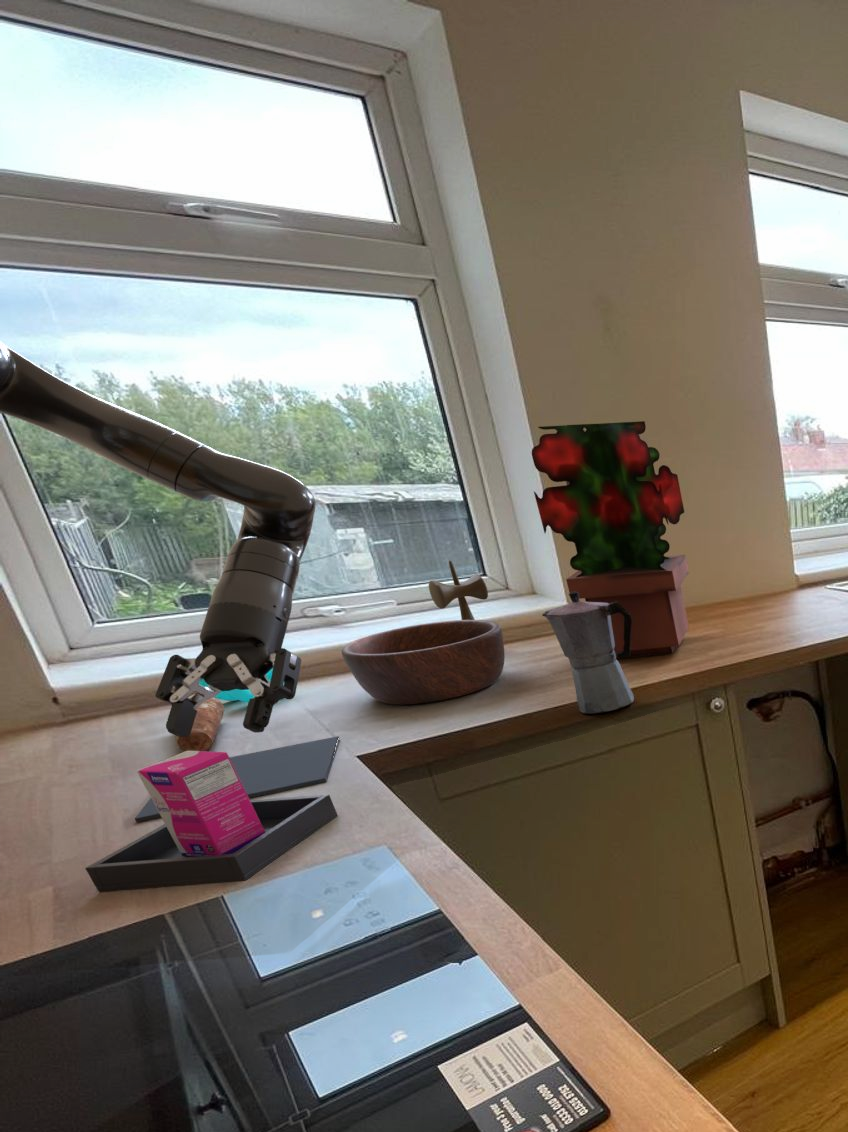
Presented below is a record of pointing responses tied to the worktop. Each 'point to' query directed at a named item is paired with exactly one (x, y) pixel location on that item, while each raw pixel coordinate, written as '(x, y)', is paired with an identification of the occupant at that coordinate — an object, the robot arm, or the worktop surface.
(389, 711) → the worktop surface
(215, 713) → the bread
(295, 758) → the mat
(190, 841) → the supplement box
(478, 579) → the kendama
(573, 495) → the potted plant
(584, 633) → the moka pot
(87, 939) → the worktop surface
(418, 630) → the wooden bowl
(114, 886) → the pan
